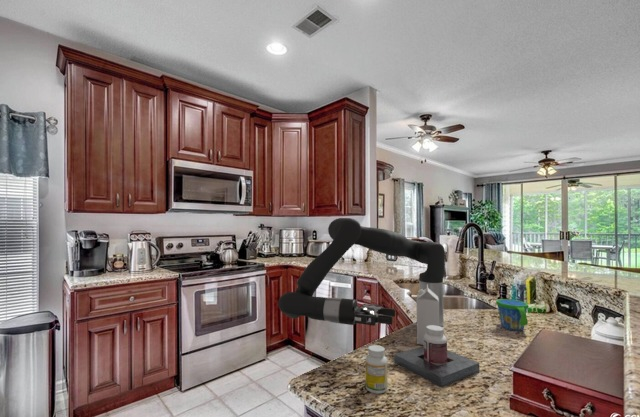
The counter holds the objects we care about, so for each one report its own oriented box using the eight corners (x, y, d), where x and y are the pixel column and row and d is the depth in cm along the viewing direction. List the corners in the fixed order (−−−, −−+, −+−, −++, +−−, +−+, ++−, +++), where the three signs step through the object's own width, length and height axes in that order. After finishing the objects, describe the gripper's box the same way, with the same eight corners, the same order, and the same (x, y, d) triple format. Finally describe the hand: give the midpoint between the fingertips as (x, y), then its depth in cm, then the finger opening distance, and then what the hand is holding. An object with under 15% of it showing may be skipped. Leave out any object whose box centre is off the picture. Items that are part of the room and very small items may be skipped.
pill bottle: (452, 369, 86) (451, 328, 87) (438, 374, 83) (437, 332, 84) (433, 361, 92) (432, 323, 92) (419, 366, 88) (419, 326, 89)
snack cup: (538, 336, 114) (537, 307, 114) (507, 334, 115) (506, 306, 116) (517, 323, 129) (516, 298, 130) (490, 321, 131) (489, 297, 131)
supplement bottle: (380, 396, 72) (380, 354, 73) (361, 389, 76) (361, 348, 76) (391, 387, 76) (391, 347, 77) (372, 380, 80) (372, 342, 80)
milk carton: (438, 340, 109) (437, 285, 110) (439, 347, 102) (438, 288, 103) (417, 337, 111) (416, 283, 112) (416, 344, 104) (416, 287, 106)
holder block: (394, 363, 90) (394, 354, 90) (430, 351, 98) (430, 343, 99) (441, 387, 76) (441, 377, 77) (479, 372, 85) (479, 362, 85)
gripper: (334, 303, 90) (391, 309, 85) (346, 294, 104) (396, 298, 99) (334, 329, 90) (391, 337, 85) (345, 317, 103) (395, 322, 98)
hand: (393, 316), depth 92 cm, fingers open, 8 cm apart
